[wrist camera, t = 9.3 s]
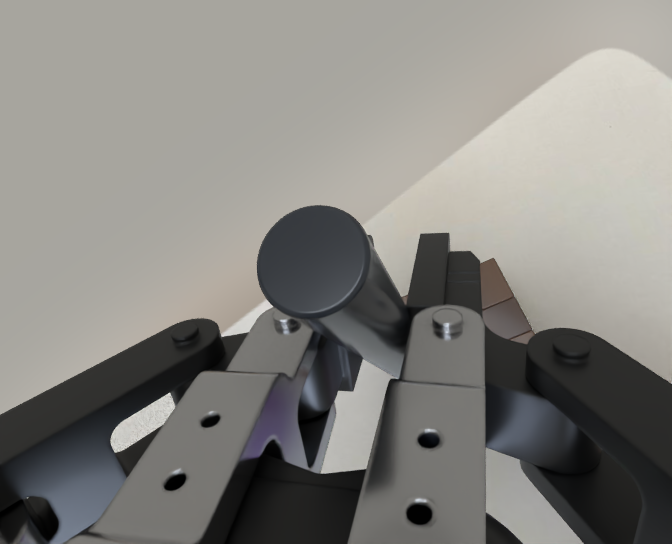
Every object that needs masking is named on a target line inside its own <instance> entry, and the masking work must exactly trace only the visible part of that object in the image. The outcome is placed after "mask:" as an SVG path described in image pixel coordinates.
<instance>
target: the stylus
mask: <svg viewBox="0 0 672 544" xmlns="http://www.w3.org/2000/svg"><path fill="white" fill-rule="evenodd" d="M257 275H258V281H259V285H260V287H261V290H262V292H263V294H264V295H265V297H266V299H267V300H268V301H269V302H270V304H271V305H273V306H274V307H275V308H276V309H277V310H279V311H280V312H282V313H283V314H285V315H287V316H289V317H290V318H292V319H294V320H296V321H297V322H299V323H301V324H303V325H304V326H306V327H308V328H310V329H311V330H313V331H315V332H317V333H318V334H320V335H322V336H324V337H325V338H327V339H329V340H331V341H332V342H334V343H336V344H338V345H340V346H341V347H343V348H345V349H347V350H348V351H350V352H352V353H354V354H355V355H357V356H359V357H361V358H362V359H364V360H366V361H368V362H369V363H371V364H373V365H375V366H376V367H378V368H380V369H382V370H383V371H385V372H387V373H389V374H390V375H392V376H394V377H396V378H397V379H399V376H400V371H401V367H402V363H403V358H404V354H405V350H406V345H407V341H408V336H409V332H410V328H411V321H410V316H409V312H408V309H407V307H406V305H405V303H404V301H403V299H402V297H401V296H400V294H399V292H398V290H397V288H396V287H395V285H394V283H393V281H392V279H391V277H390V276H389V274H388V272H387V270H386V268H385V267H384V265H383V263H382V261H381V259H380V258H379V256H378V254H377V252H376V250H375V249H374V247H373V245H372V243H371V241H370V239H369V238H368V236H367V234H366V232H365V230H364V229H363V227H362V226H361V225H360V223H359V222H358V221H357V220H356V219H355V218H354V217H352V216H351V215H350V214H348V213H346V212H345V211H343V210H340V209H338V208H335V207H330V206H321V205H315V206H307V207H303V208H300V209H297V210H295V211H293V212H291V213H289V214H287V215H286V216H284V217H283V218H281V219H280V220H279V221H278V222H277V223H276V224H275V225H274V226H273V227H272V228H271V229H270V231H269V232H268V233H267V235H266V236H265V238H264V240H263V242H262V244H261V247H260V250H259V254H258V260H257Z"/></svg>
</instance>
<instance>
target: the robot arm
mask: <svg viewBox="0 0 672 544" xmlns="http://www.w3.org/2000/svg"><path fill="white" fill-rule="evenodd" d="M367 236H368V238H369V239H370V241H371V243H372V245H373V247H374V243H373V238H372V236H371V235H367ZM406 307H407V309H408V312H409V316H410V321H411V328H410V332H409V336H408V341H407V345H406V350H405V354H404V358H403V363H402V367H401V371H400V376H399V379H390V381H389V383H388V386H387V390H386V394H385V398H384V402H383V406H382V410H381V414H380V418H379V422H378V426H377V430H376V434H375V437H374V441H373V445H372V449H371V453H370V457H369V461H368V465H367V469H364V470H355V471H346V472H337V473H328V474H320V472H321V468H322V465H323V461H324V458H325V454H326V450H327V447H328V443H329V440H330V436H331V432H332V429H333V425H334V421H335V418H336V408H335V402H334V401H335V398H336V395H337V392H338V391H353V390H354V387H355V384H356V380H357V377H358V373H359V370H360V366H361V363H362V360H363V359H362V358H361V357H359V356H357V355H355V354H354V353H352V352H350V351H348V350H347V349H345V348H343V347H341V346H340V345H338V344H336V343H334V342H332V341H331V340H329V339H327V338H325V337H324V336H322V335H320V334H318V333H317V332H315V331H313V330H311V329H310V328H308V327H306V326H304V325H303V324H301V323H299V322H297V321H296V320H294V319H292V318H290V317H289V316H287V315H285V314H283V313H282V312H280V311H279V310H277V309H276V308H275V307H273V308H271V309H269V310H267V311H265V312H264V313H263V314H261V315H260V316H259V318H258V319H257V320H256V322H255V324H254V325H253V327H252V328H251V330H250V332H248V333H243V334H237V335H231V336H225V337H221V334H220V330H219V327H218V325H217V323H215V322H214V321H212V320H209V319H191V320H186V321H183V322H180V323H177V324H175V325H173V326H171V327H169V328H167V329H165V330H163V331H161V332H159V333H157V334H156V335H153V336H151V337H150V338H147V339H146V340H144V341H142V342H140V343H138V344H136V345H134V346H132V347H130V348H128V349H126V350H124V351H122V352H120V353H118V354H117V355H115V356H113V357H111V358H109V359H107V360H105V361H103V362H101V363H99V364H97V365H95V366H94V367H92V368H90V369H88V370H86V371H84V372H82V373H80V374H78V375H76V376H74V377H72V378H70V379H68V380H66V381H64V382H63V383H61V384H59V385H57V386H55V387H53V388H51V389H49V390H47V391H45V392H43V393H41V394H39V395H37V396H36V397H34V398H32V399H30V400H28V401H26V402H24V403H22V404H20V405H18V406H16V407H14V408H12V409H10V410H9V411H7V412H5V413H3V414H1V415H0V544H523V543H522V542H521V541H520V540H519V539H518V538H517V537H516V536H515V535H514V534H513V533H512V532H511V531H510V530H509V529H507V528H506V527H505V526H504V525H502V524H501V523H500V522H498V521H497V520H496V519H495V518H493V517H492V516H491V515H489V514H488V513H486V476H485V447H487V448H489V449H492V450H495V451H498V452H500V453H503V454H506V455H509V456H512V457H514V458H517V459H520V465H521V468H522V470H523V472H524V473H525V475H526V476H527V477H528V479H529V480H530V481H531V482H532V483H533V484H534V486H535V487H536V488H537V489H538V490H539V491H540V493H541V494H542V495H543V496H544V497H545V499H546V500H547V501H548V502H549V503H550V504H551V506H552V507H553V508H554V509H555V510H556V511H557V513H558V514H559V515H560V516H561V517H562V518H563V520H564V521H565V522H566V523H567V524H568V525H569V527H570V528H571V529H572V530H573V531H574V532H575V534H576V535H577V536H578V537H579V538H580V539H581V541H582V542H583V543H584V544H672V384H671V383H669V382H668V381H666V380H665V379H663V378H662V377H660V376H659V375H657V374H655V373H654V372H652V371H651V370H649V369H648V368H646V367H645V366H643V365H642V364H640V363H639V362H637V361H636V360H634V359H633V358H631V357H629V356H628V355H626V354H625V353H623V352H622V351H620V350H619V349H617V348H616V347H614V346H613V345H611V344H610V343H608V342H607V341H605V340H603V339H602V338H600V337H598V336H596V335H594V334H591V333H588V332H585V331H581V330H577V329H570V328H554V329H548V330H544V331H541V332H539V333H537V334H535V335H534V336H532V337H531V338H530V340H529V341H528V344H524V343H519V342H515V341H511V340H508V339H506V338H503V337H501V336H499V335H497V334H495V333H494V332H492V331H491V330H490V329H489V328H488V327H487V326H486V325H485V323H484V320H483V314H482V295H481V276H480V260H479V259H478V258H477V257H476V256H475V255H474V254H473V253H472V252H471V251H452V252H450V236H449V233H431V234H420V239H419V244H418V249H417V254H416V259H415V263H414V268H413V273H412V278H411V283H410V288H409V293H408V298H407V303H406ZM168 393H171V395H172V398H173V401H174V403H175V406H176V407H175V409H174V410H173V412H172V413H171V415H170V416H169V417H168V419H167V420H166V422H165V423H164V425H162V426H161V427H159V428H158V429H156V430H155V431H153V432H151V433H150V434H148V435H147V436H145V437H144V438H142V439H141V440H139V441H137V442H136V443H134V444H133V445H131V446H130V447H128V448H127V449H125V450H123V451H121V452H117V453H114V451H113V449H112V447H111V443H110V438H111V435H112V432H113V431H114V429H115V428H116V426H117V425H118V424H119V423H121V422H122V421H123V420H125V419H127V418H128V417H130V416H132V415H133V414H135V413H137V412H138V411H140V410H141V409H143V408H145V407H146V406H148V405H150V404H151V403H153V402H155V401H156V400H158V399H160V398H161V397H163V396H165V395H166V394H168ZM27 497H29V498H28V499H27Z"/></svg>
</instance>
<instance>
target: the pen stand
mask: <svg viewBox="0 0 672 544" xmlns="http://www.w3.org/2000/svg"><path fill="white" fill-rule="evenodd" d="M480 276H481V295H482V314H483V320H484V323H485V325H486V326H487V327H488V328H489V329H490V330H491V331H492V332H494V333H495V334H497V335H499V336H501V337H503V338H506V339H508V340H511V341H515V342H519V343H524V344H528V341H529V340H530V338H531V337H532V336H534V335H535V334H534V332H533V331H532V328H531V326H530V324H529V322H528V320H527V319H526V317H525V315H524V313H523V311H522V309H521V307H520V306H519V304H518V302H517V300H516V298H515V297H514V294H513V293H512V291H511V289H510V287H509V285H508V283H507V281H506V280H505V278H504V276H503V274H502V272H501V270H500V268H499V266H498V265H497V263H496V261H495V259H494V258H492V259H490V260H487V261H485V262H483V263H480ZM407 298H408V295H406V296H404V297H402V299H403V301H404V303H405V305H406V303H407Z"/></svg>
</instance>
